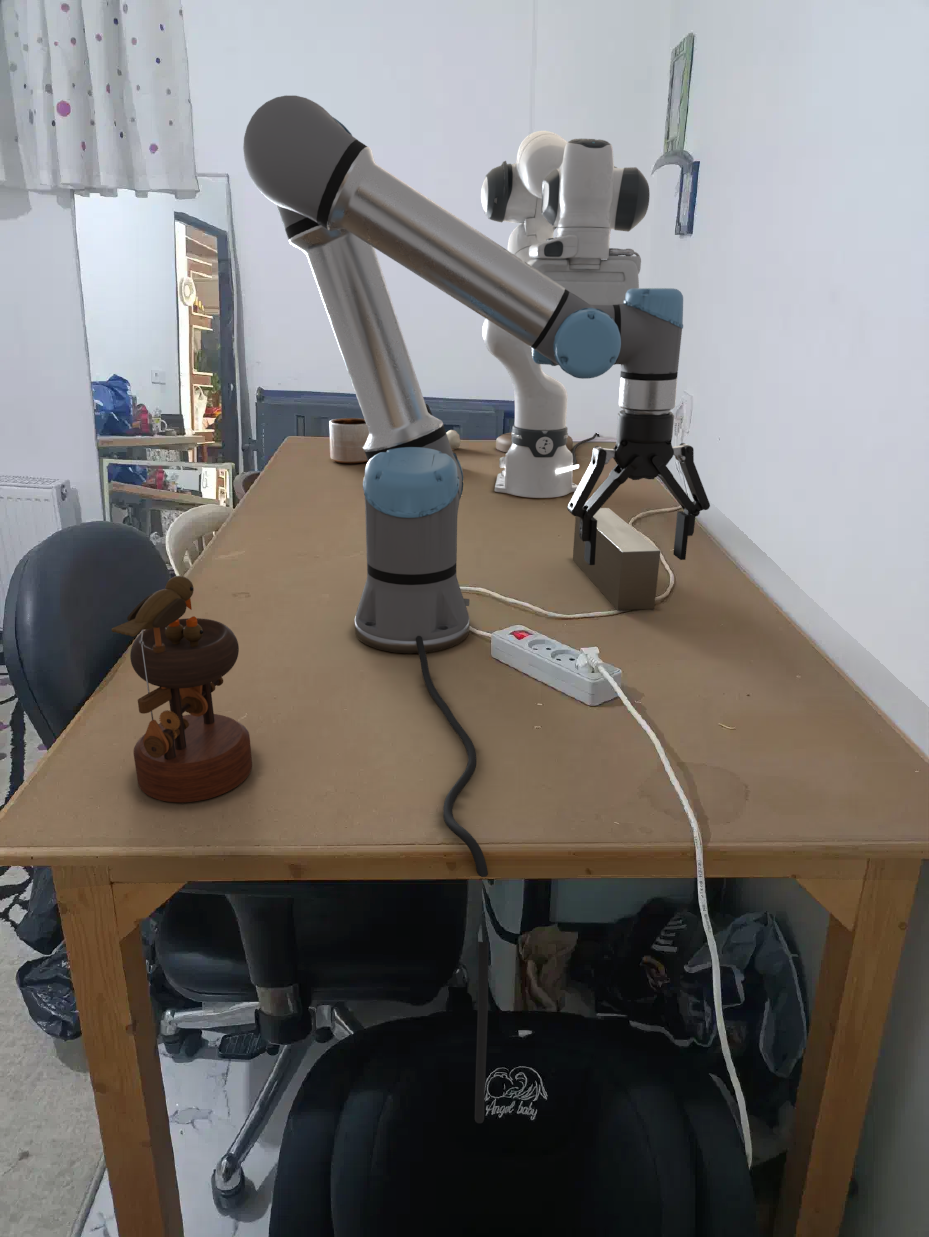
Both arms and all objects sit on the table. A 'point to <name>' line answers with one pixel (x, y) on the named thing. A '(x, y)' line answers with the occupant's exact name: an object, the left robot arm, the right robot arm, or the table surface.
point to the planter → (348, 440)
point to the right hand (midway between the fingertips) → (577, 334)
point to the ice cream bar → (505, 442)
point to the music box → (184, 700)
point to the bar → (620, 562)
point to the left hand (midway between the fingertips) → (634, 559)
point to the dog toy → (453, 439)
